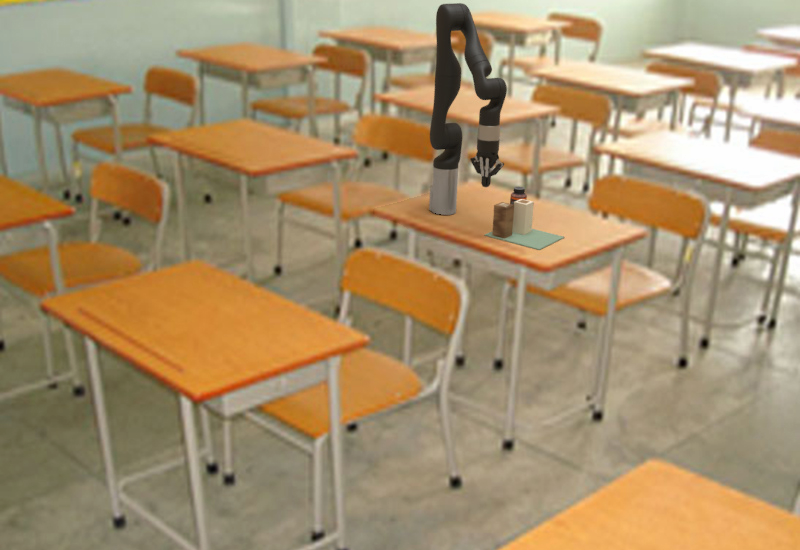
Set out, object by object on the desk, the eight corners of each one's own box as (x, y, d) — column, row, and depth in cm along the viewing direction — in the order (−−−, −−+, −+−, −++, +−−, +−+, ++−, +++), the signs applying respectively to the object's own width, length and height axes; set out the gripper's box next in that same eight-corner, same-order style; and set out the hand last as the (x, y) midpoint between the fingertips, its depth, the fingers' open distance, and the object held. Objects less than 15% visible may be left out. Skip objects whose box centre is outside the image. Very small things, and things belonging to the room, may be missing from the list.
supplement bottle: (524, 220, 359) (526, 190, 354) (508, 219, 360) (510, 189, 355) (525, 215, 364) (528, 186, 360) (509, 214, 365) (511, 185, 361)
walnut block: (492, 235, 341) (494, 204, 337) (500, 232, 344) (502, 201, 340) (504, 238, 338) (506, 207, 334) (512, 235, 342) (514, 204, 338)
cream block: (511, 231, 345) (514, 201, 341) (519, 228, 349) (521, 198, 345) (524, 235, 342) (526, 204, 338) (531, 231, 346) (533, 201, 342)
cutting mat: (484, 235, 342) (484, 234, 341) (510, 224, 354) (510, 223, 354) (539, 250, 329) (539, 249, 329) (564, 237, 342) (564, 236, 341)
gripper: (466, 136, 335) (463, 185, 341) (498, 142, 327) (495, 192, 333) (478, 132, 340) (475, 181, 346) (510, 138, 333) (507, 188, 339)
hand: (485, 186), depth 340 cm, fingers closed
